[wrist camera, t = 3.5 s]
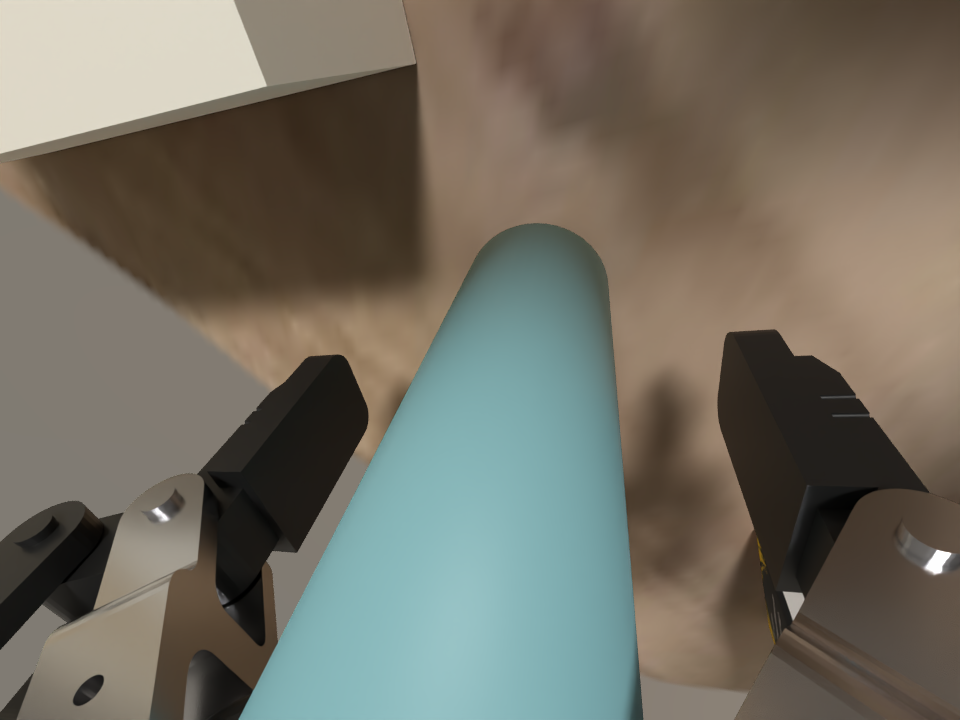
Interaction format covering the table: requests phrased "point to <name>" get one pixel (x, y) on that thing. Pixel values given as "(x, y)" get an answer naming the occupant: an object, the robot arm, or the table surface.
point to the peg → (483, 521)
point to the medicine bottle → (778, 602)
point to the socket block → (175, 61)
